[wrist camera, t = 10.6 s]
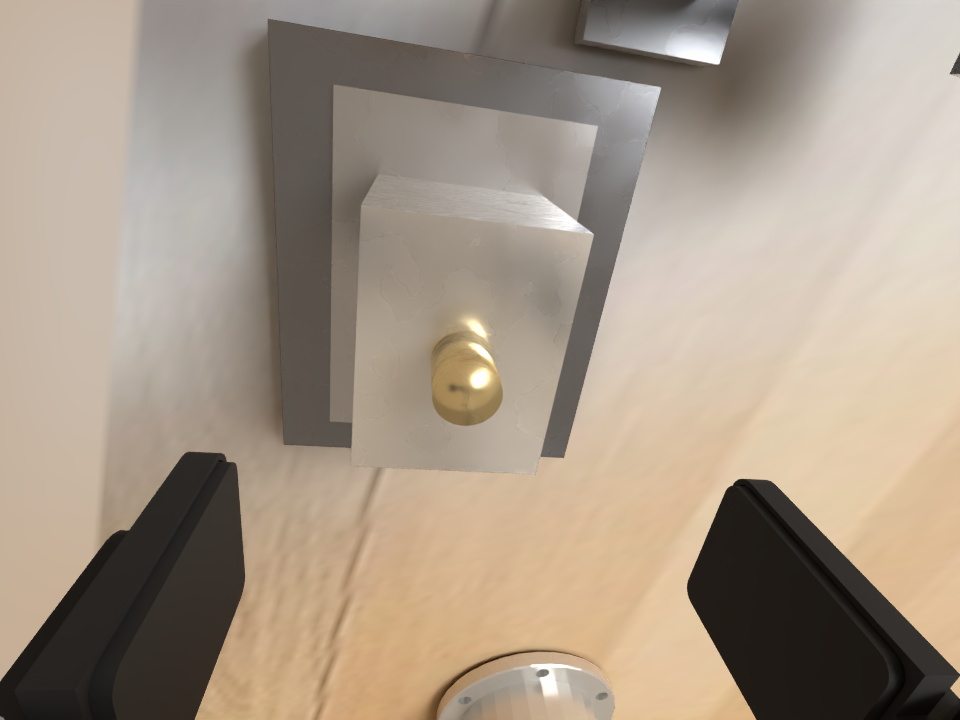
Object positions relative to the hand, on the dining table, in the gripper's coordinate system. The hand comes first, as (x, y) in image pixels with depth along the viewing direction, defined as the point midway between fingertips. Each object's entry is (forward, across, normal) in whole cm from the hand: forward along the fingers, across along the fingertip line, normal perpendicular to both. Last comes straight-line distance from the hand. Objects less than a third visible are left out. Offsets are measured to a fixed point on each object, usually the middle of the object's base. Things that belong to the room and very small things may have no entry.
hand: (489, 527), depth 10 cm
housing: (+12, 0, -1) cm, 12 cm away
